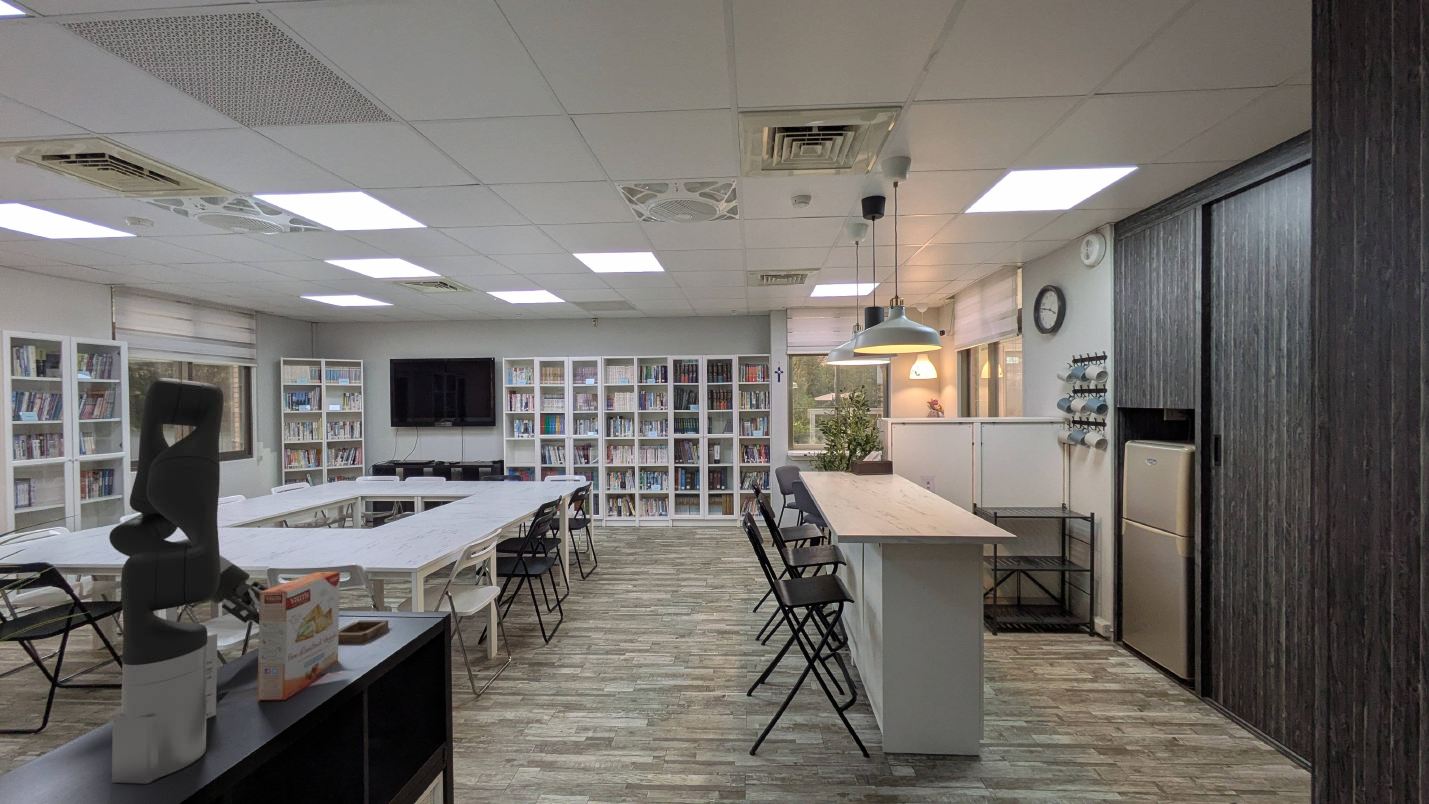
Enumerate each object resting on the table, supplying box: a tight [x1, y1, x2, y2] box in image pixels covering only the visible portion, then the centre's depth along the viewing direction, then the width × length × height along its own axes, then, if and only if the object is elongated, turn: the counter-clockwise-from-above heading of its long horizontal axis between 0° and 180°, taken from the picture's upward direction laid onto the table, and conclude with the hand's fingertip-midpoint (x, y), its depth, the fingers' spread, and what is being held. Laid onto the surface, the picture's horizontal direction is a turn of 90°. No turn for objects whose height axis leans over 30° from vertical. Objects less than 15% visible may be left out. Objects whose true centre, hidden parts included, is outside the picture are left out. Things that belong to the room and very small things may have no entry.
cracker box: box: [256, 571, 341, 701], centre depth 106 cm, size 14×6×21 cm, turn 179°
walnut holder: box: [338, 619, 393, 645], centre depth 126 cm, size 10×10×4 cm
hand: (279, 619), depth 120 cm, fingers open, 8 cm apart
